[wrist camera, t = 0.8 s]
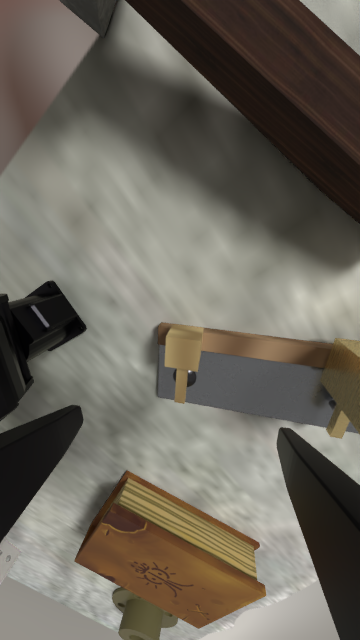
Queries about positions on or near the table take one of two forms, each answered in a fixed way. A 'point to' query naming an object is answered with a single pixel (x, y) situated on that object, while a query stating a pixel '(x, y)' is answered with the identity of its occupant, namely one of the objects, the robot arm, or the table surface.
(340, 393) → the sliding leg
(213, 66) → the hammer
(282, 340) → the trammel bar
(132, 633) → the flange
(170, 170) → the table surface
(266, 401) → the bolt strip
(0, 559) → the grey rectangular block
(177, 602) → the diary
